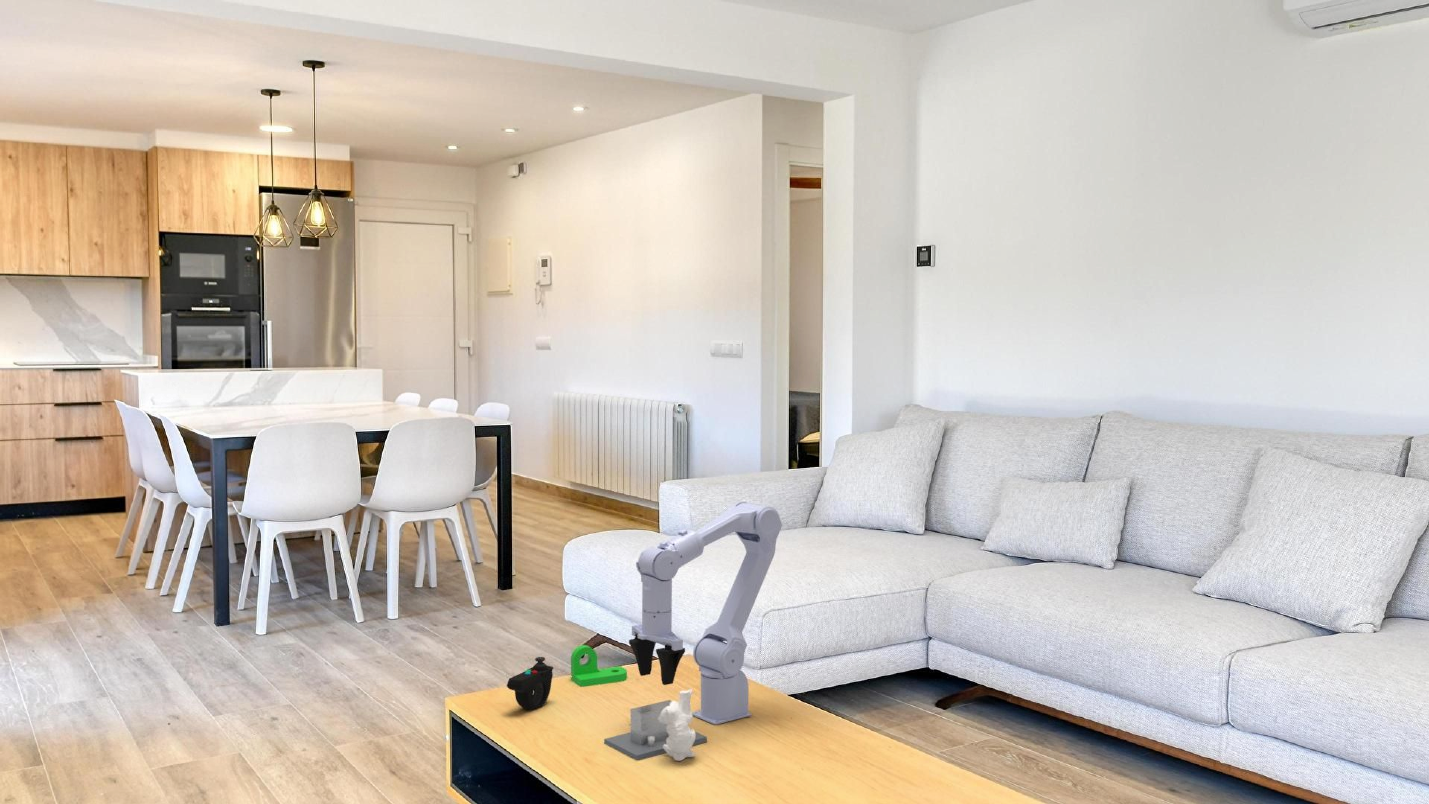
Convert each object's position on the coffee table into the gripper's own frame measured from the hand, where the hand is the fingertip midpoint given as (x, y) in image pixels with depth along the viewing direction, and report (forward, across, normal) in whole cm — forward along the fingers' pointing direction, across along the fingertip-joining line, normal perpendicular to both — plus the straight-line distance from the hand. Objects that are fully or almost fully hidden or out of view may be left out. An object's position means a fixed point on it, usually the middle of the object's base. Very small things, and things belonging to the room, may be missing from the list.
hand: (656, 679), depth 226 cm
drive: (+9, +5, -4) cm, 11 cm away
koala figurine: (+11, +14, -4) cm, 18 cm away
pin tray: (+10, +5, -4) cm, 12 cm away
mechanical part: (+11, -35, +10) cm, 38 cm away
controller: (+11, -27, -12) cm, 32 cm away
